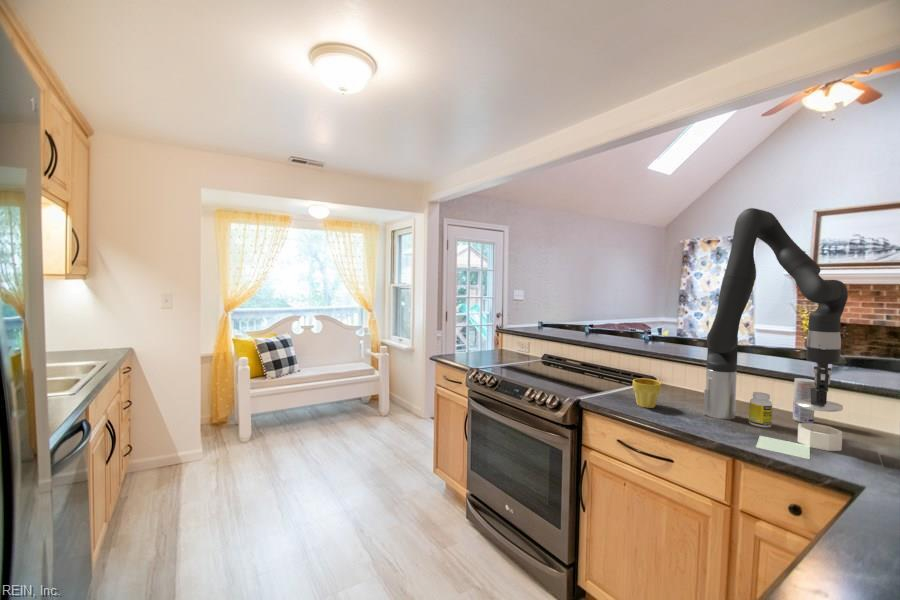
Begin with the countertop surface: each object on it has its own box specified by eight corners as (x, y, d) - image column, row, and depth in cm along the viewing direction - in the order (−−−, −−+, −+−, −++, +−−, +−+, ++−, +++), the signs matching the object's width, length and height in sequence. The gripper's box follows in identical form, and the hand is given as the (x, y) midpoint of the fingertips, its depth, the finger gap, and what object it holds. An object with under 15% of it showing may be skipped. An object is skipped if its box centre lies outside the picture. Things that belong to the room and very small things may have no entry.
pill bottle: (765, 429, 135) (766, 397, 135) (745, 423, 141) (746, 392, 140) (775, 426, 138) (776, 394, 137) (754, 420, 143) (755, 390, 143)
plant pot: (664, 410, 155) (665, 385, 155) (636, 408, 157) (636, 384, 156) (655, 402, 165) (656, 378, 165) (629, 401, 167) (629, 377, 167)
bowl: (797, 445, 122) (797, 429, 122) (798, 436, 129) (798, 420, 129) (842, 454, 116) (842, 437, 115) (840, 444, 123) (841, 428, 123)
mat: (755, 448, 120) (755, 447, 120) (759, 436, 129) (759, 435, 129) (809, 460, 112) (809, 459, 112) (809, 447, 121) (810, 445, 121)
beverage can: (817, 424, 140) (819, 381, 139) (799, 423, 141) (800, 381, 140) (806, 419, 145) (808, 378, 144) (789, 418, 146) (790, 377, 146)
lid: (793, 408, 122) (792, 389, 122) (794, 399, 130) (793, 382, 130) (844, 413, 115) (843, 393, 115) (841, 404, 123) (840, 385, 123)
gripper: (806, 342, 129) (805, 395, 130) (806, 347, 118) (804, 405, 119) (839, 344, 124) (837, 399, 125) (842, 350, 113) (839, 410, 114)
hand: (821, 402), depth 122 cm, fingers closed on lid, 3 cm apart
